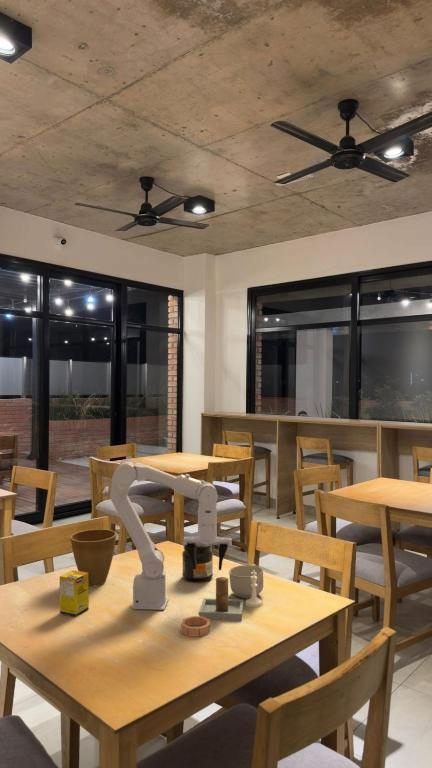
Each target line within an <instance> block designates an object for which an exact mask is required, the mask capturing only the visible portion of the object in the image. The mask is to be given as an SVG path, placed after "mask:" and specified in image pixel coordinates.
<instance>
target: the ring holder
mask: <svg viewBox="0 0 432 768" xmlns="http://www.w3.org/2000/svg"><path fill="white" fill-rule="evenodd" d="M192 625H198V627H197V626H195V627H194V626H192ZM210 630H211V619H207V618H205V617H203V616H199V615H191V616H188V617H185V618H183V619H182V620H181V623H180V631H181V633H182V634H184V635H186V636H188V637H203V636H204V635H207V634H209V633H210Z"/></svg>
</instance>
